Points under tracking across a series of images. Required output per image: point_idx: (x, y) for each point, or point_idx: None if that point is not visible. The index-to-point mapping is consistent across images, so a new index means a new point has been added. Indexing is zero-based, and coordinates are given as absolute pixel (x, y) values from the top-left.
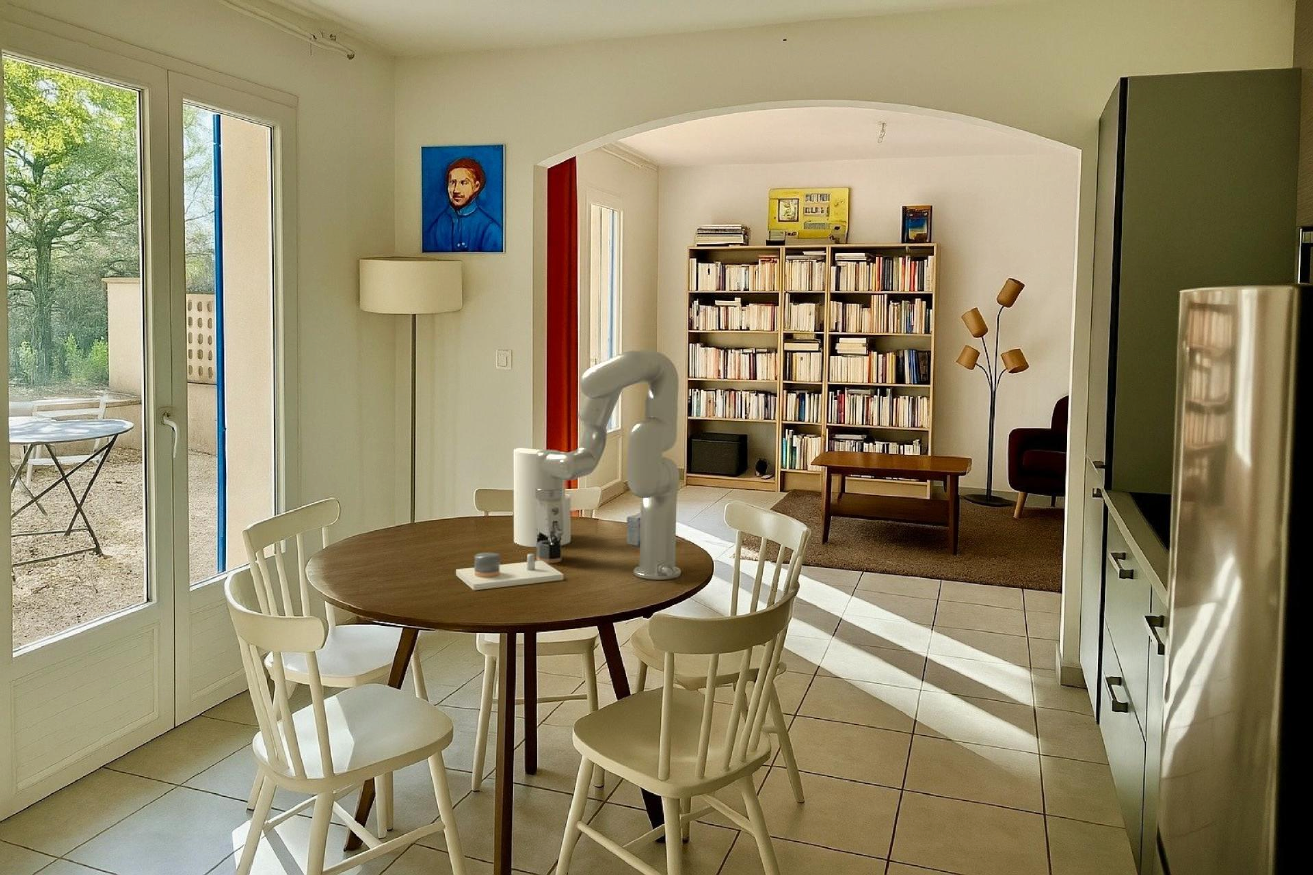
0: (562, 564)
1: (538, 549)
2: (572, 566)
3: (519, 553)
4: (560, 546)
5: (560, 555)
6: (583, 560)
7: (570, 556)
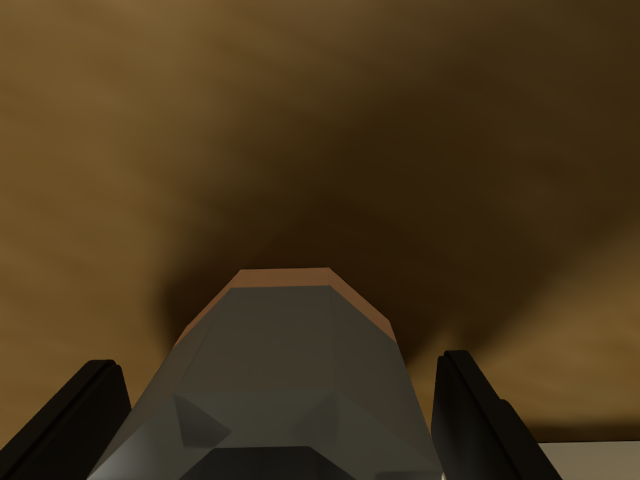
0: (472, 304)
1: None
2: (585, 252)
3: None
4: (355, 369)
5: (345, 303)
6: (432, 55)
7: (207, 128)
